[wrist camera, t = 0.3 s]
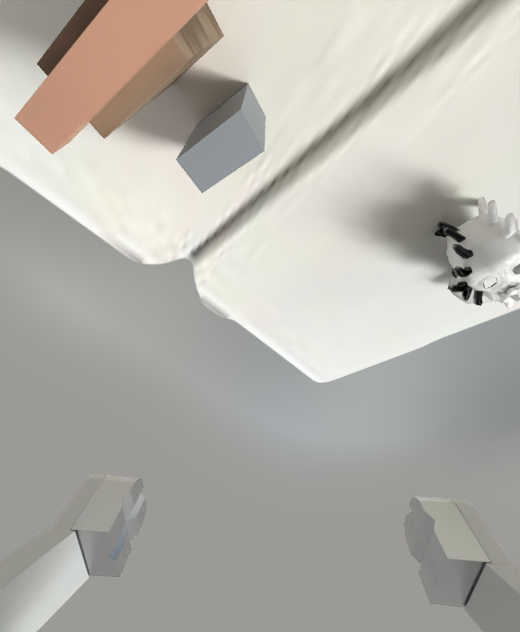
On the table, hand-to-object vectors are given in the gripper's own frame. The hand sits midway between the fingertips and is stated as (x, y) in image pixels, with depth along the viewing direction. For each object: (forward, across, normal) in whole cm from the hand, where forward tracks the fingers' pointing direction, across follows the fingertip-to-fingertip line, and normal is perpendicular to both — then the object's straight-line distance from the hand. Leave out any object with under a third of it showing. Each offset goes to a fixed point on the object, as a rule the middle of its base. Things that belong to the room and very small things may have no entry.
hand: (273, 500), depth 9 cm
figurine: (+60, -42, -3) cm, 73 cm away
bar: (+20, +11, -20) cm, 30 cm away
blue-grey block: (+48, +8, -22) cm, 54 cm away
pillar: (+44, +14, -30) cm, 55 cm away
